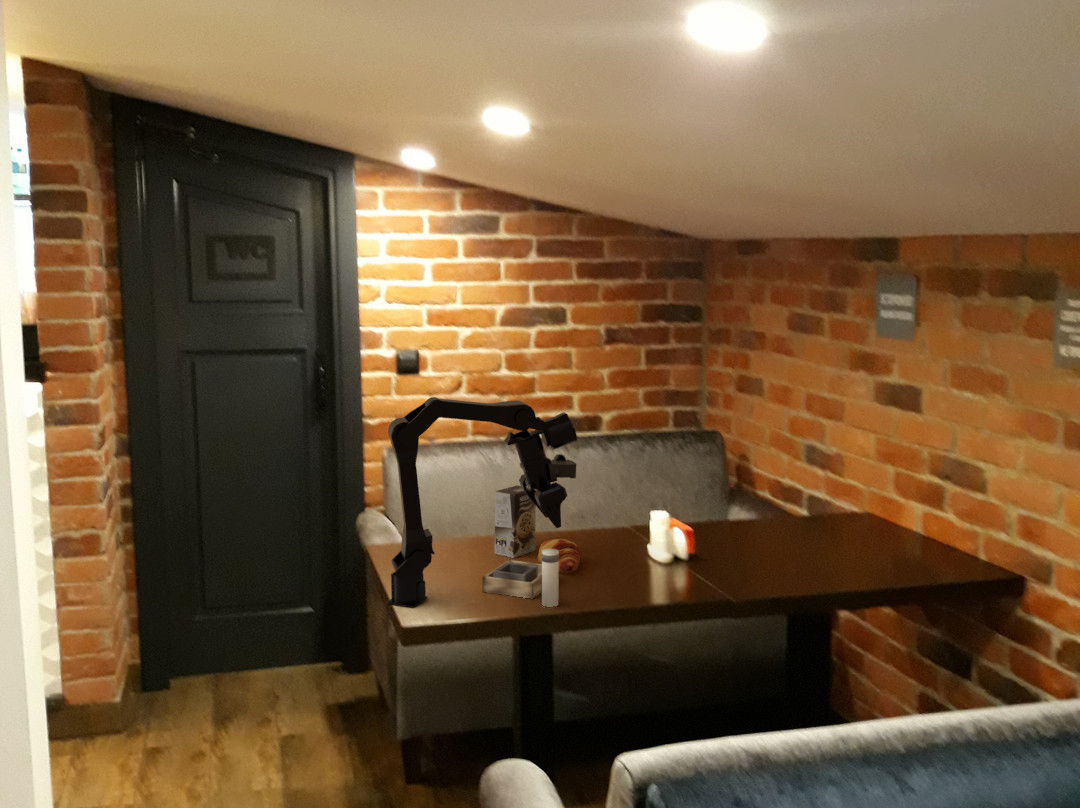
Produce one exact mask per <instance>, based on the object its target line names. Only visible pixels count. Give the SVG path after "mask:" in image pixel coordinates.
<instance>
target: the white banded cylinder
mask: <svg viewBox="0 0 1080 808" xmlns="http://www.w3.org/2000/svg"><path fill="white" fill-rule="evenodd" d="M559 573H560V572H559V551H558V550H557V549H544V550H542V592H541V606H542V605H543V606H547V607H553V606H557V605H558V606H559ZM543 606H542V607H543Z"/></svg>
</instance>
